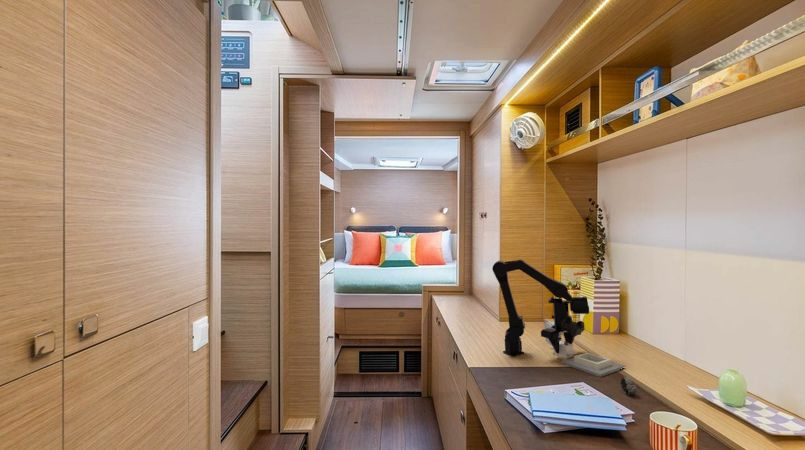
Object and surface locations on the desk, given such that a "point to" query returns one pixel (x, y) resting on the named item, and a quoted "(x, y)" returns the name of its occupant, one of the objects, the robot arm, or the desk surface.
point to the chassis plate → (593, 364)
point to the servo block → (565, 350)
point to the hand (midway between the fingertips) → (563, 351)
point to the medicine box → (549, 325)
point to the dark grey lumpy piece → (631, 387)
